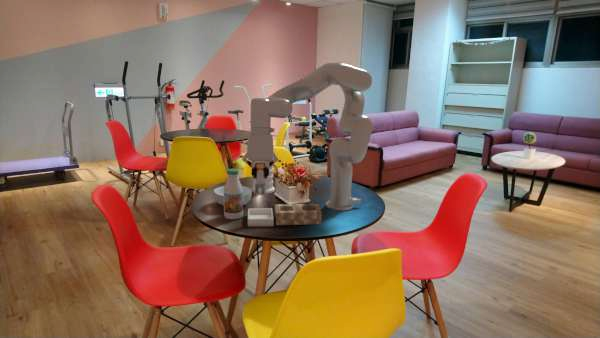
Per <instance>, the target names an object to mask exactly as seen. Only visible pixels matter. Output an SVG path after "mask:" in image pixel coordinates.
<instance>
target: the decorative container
mask: <svg viewBox="0 0 600 338" xmlns="http://www.w3.org/2000/svg"><path fill="white" fill-rule="evenodd" d="M273 159H274V158H273ZM271 161H272V160H271ZM256 162H265V163H266V161H255V163H256ZM269 162H270V161H269ZM254 166H255V165H254ZM265 167H266V164H265ZM273 173H274V164H273V165H272V166H271V167H270V168H269V176H267V178H265V193H264V194H263V195H268V194H272V193H274V192H275V189H276V188H275V187H274V186H273V185H274V180H273V179H274V174H273ZM252 183H253V186H252V187H251V190H252V192H253V193H254V194H256V193H255V178H253V181H252Z"/></svg>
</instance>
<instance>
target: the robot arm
mask: <svg viewBox="0 0 600 338" xmlns="http://www.w3.org/2000/svg"><path fill="white" fill-rule="evenodd" d="M372 83H373V77H372V75H371V73H370V72H369V71H368V70H366V69H362V68H359V67H356V66H353V65H350V64H347V63H345V62H344V63H343V62H327V63H324V64H322V65H320V66H319V67H318V68H316V69H314V70H313V71H312V72H310V73H308V74H307V75H306V76H304V77H303V78H301V79H299V80H297V81H294V82H292V83H289V84H288V85H286V86H283V87H282V88H280V89H279V90H277V91H275V92H274V93H272V94H270V95H269V96H268V97H267V98H266V97H265V98H264V97H255V98H254V97H253V98H252V99H251V100H250V133H248V137H247V144H246V145H247V147H246V148H247V149H246V153H244V154H245V155H243V157H242V158H241V161H242V162H244V163H245V164H247V165H248V166H249V167H250V168H251V177H253V179H254V178H255V166H254V165H255V161H266V167H265V178H267V176H269V168H270V167H271V166H272V165H273V166H274V164H275V163H277V162H279V158H278V157H277V155H276V154H275V151H274V139H273V137H274V136H273V134H272V133H273V132H275V128H274V127H271V120H272V119H271V118H276V119H277V118H278V119H285V118H288V117H289V116H290V115H291V114H292V112H293V109H294V108H293V104H294V103H298V102H302V101H307V100H310V99H313V98H314V97H316V96H317V95H319V94H321V92H323V91H324V90H326V89H328V88H329V87H331V86H333V85H335V86H339V87H340V88H341V90H342V92H343V96H344V105H343V109H342V112H341V115H340V120H339V124H338V129H339V131H340V132H341V133H343V134H344V135H346V136H350V138H349V137H344V136H338V137H335V138H334V139H333V140H332V141H331V142H330V145H329V157H330V181H329V200H328V201H326V202H325V207H326V208H327V209H330V210H334V211H339V212H342V211H343V212H345V211H350V210H352V209H353V208H354V204H362V199H361V198H357V197H352V183H353V181H352V180H353V164H358V163H361V162H362V161H363V159H365V157H366V154H367V151H368V147H369V144H370V141H371V137H372V134H373V133H372V132H373V122H372V120H371V118H370V117H369V116H367V115H366V114H365V115H364V114H363V113H364V108H365V102H366V101H365V96H364V95H365V94H364V93H363V92H366V91H367V90H369V89H370V88H371V86H372ZM273 158H274V159H273ZM271 160H272V161H271ZM269 161H270V162H269Z"/></svg>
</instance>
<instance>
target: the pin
mask: <svg viewBox="0 0 600 338" xmlns="http://www.w3.org/2000/svg"><path fill="white" fill-rule="evenodd" d="M265 164H266V163H265V162H256V163H255V193H254V194H258V195H265V194H264V193H265Z"/></svg>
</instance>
